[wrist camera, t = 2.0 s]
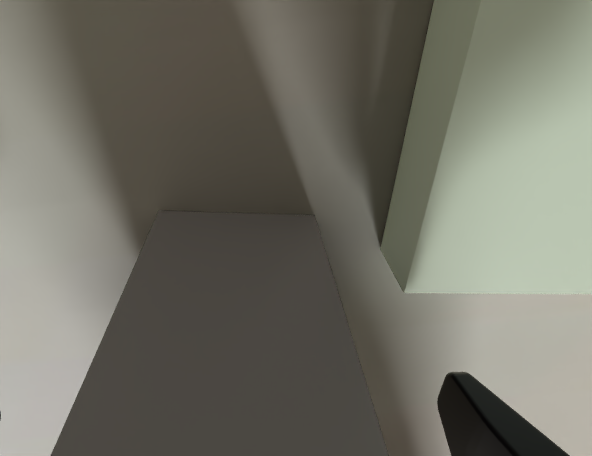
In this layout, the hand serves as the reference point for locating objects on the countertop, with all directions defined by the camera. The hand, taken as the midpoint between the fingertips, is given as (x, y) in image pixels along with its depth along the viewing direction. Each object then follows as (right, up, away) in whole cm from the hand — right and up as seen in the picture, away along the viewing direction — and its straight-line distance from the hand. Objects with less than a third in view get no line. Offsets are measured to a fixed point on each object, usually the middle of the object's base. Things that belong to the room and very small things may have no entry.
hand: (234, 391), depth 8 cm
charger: (0, +2, +3) cm, 4 cm away
